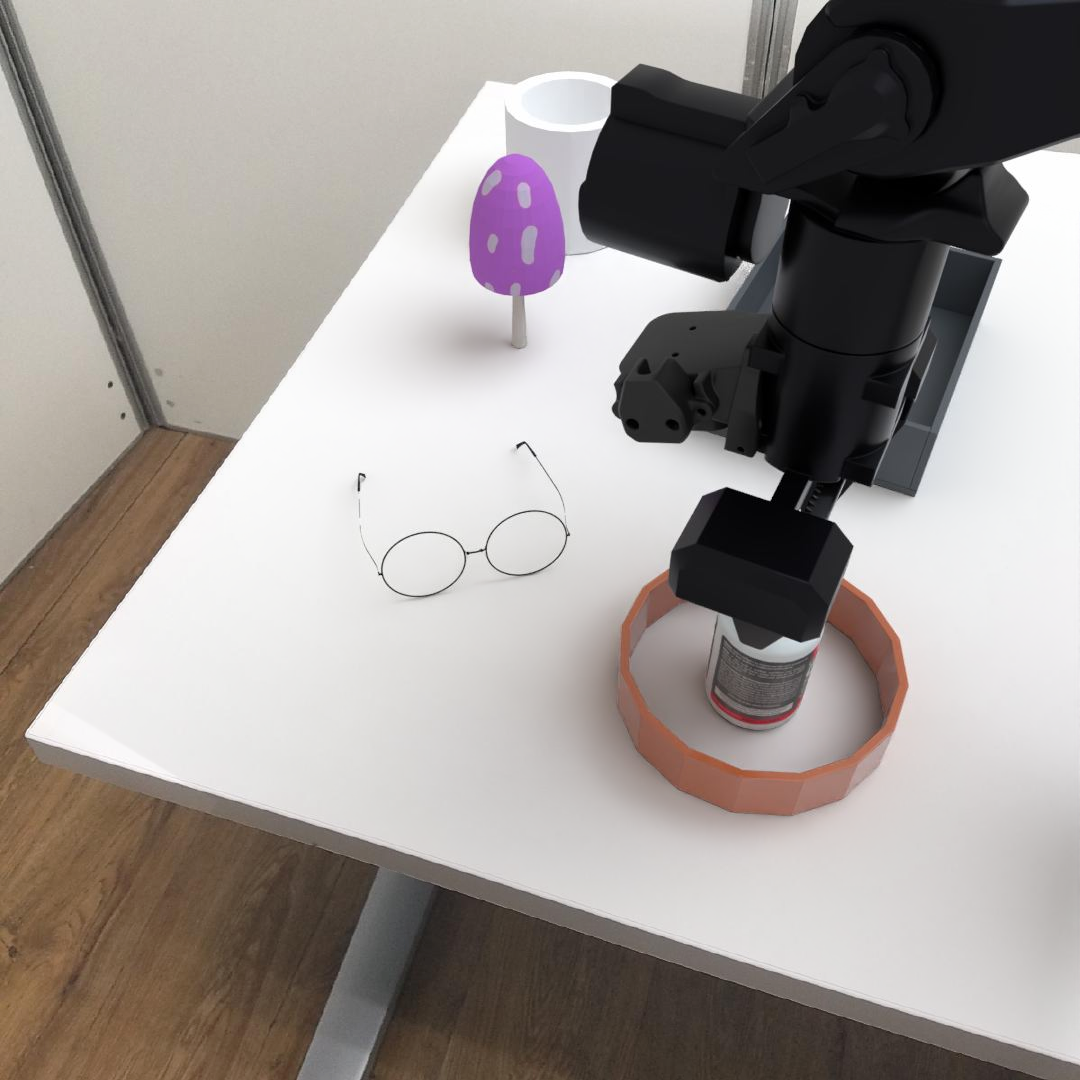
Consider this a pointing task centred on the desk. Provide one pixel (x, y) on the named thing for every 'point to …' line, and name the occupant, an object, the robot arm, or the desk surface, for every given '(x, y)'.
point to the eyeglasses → (461, 545)
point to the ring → (750, 786)
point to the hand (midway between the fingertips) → (783, 575)
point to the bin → (955, 330)
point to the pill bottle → (757, 677)
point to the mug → (560, 135)
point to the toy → (516, 235)
